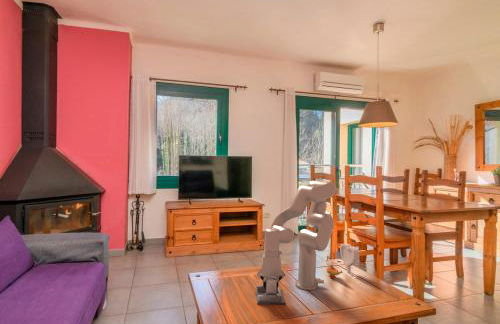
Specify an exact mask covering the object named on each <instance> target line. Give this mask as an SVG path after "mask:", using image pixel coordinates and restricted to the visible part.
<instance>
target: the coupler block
mask: <svg viewBox="0 0 500 324" xmlns="http://www.w3.org/2000/svg"><path fill="white" fill-rule="evenodd" d="M276 288H277V280H276V277H270V276H267V278H266V290H265V292H266V295H276Z"/></svg>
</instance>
